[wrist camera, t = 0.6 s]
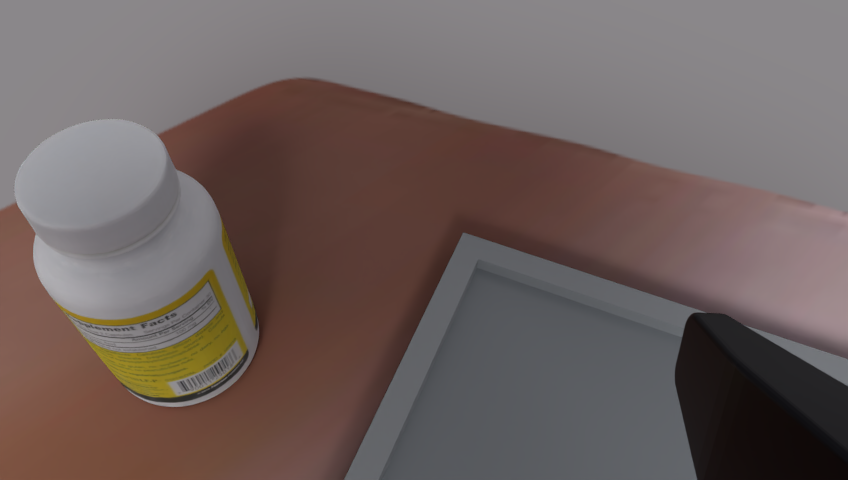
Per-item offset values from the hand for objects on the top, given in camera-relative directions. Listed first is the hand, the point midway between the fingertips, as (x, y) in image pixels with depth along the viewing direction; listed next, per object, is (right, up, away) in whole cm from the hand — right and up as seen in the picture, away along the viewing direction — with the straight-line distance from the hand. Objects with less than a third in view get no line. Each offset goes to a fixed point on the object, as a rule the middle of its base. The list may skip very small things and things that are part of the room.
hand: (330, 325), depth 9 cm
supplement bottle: (-8, -3, +18) cm, 20 cm away
